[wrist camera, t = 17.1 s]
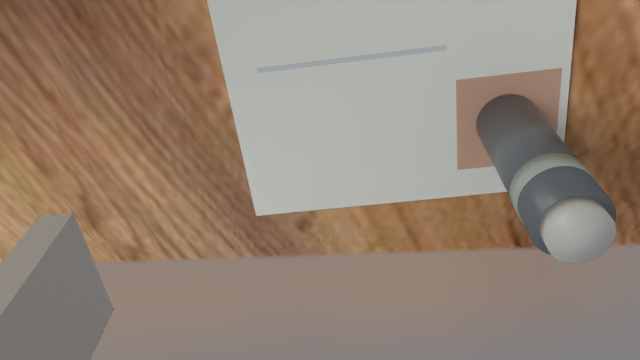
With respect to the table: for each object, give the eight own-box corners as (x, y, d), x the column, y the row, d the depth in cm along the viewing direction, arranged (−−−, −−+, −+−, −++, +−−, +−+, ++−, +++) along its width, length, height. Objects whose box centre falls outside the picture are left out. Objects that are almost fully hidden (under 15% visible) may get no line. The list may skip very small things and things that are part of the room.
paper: (256, 213, 38) (256, 216, 37) (191, -73, 29) (190, -73, 29) (558, 184, 36) (560, 186, 35) (586, -132, 27) (588, -132, 27)
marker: (475, 152, 34) (532, 275, 24) (475, 96, 33) (537, 203, 22) (535, 146, 34) (621, 268, 24) (539, 89, 32) (633, 194, 22)
